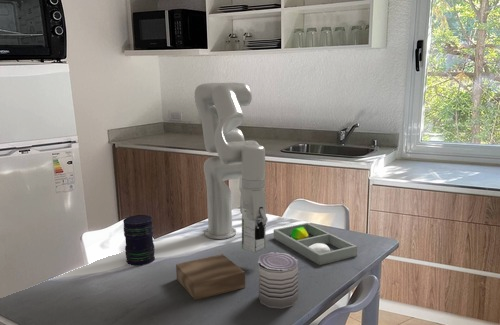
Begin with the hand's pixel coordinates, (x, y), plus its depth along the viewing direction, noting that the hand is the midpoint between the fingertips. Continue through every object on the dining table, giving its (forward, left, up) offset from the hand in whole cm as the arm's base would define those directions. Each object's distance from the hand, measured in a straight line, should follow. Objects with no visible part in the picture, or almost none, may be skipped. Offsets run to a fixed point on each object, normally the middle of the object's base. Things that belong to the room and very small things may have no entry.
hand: (253, 234), depth 152 cm
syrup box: (0, 0, -5) cm, 5 cm away
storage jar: (-24, -32, -11) cm, 42 cm away
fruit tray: (-4, +27, -11) cm, 29 cm away
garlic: (+3, +24, -11) cm, 27 cm away
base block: (+5, -18, -11) cm, 22 cm away
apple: (-9, +25, -11) cm, 29 cm away
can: (+24, -5, -11) cm, 27 cm away
